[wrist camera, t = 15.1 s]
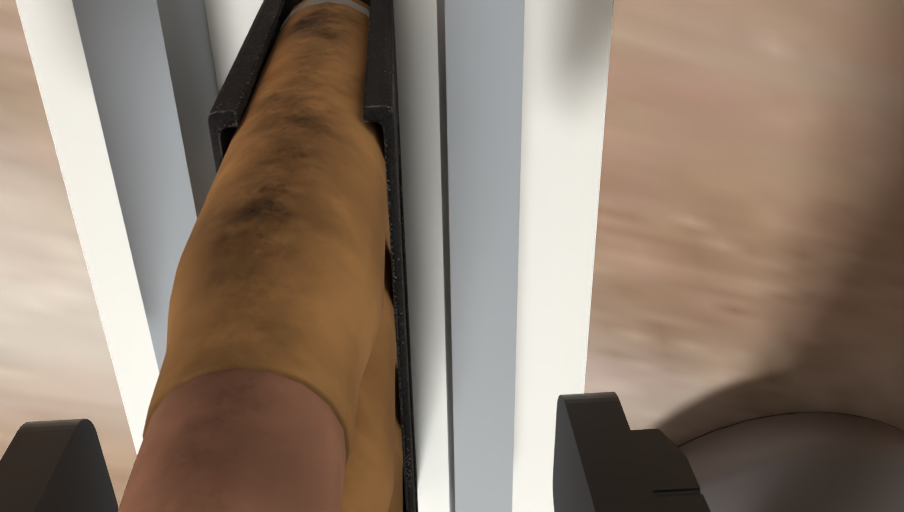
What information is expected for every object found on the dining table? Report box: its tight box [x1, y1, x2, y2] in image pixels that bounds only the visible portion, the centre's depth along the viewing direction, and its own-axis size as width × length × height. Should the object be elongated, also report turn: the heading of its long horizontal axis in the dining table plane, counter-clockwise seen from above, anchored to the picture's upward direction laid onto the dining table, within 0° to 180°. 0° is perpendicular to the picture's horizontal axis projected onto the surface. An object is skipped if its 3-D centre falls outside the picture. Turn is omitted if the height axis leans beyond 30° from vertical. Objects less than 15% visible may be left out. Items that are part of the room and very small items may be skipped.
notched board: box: [16, 0, 614, 512], centre depth 15 cm, size 9×15×4 cm, turn 1°
